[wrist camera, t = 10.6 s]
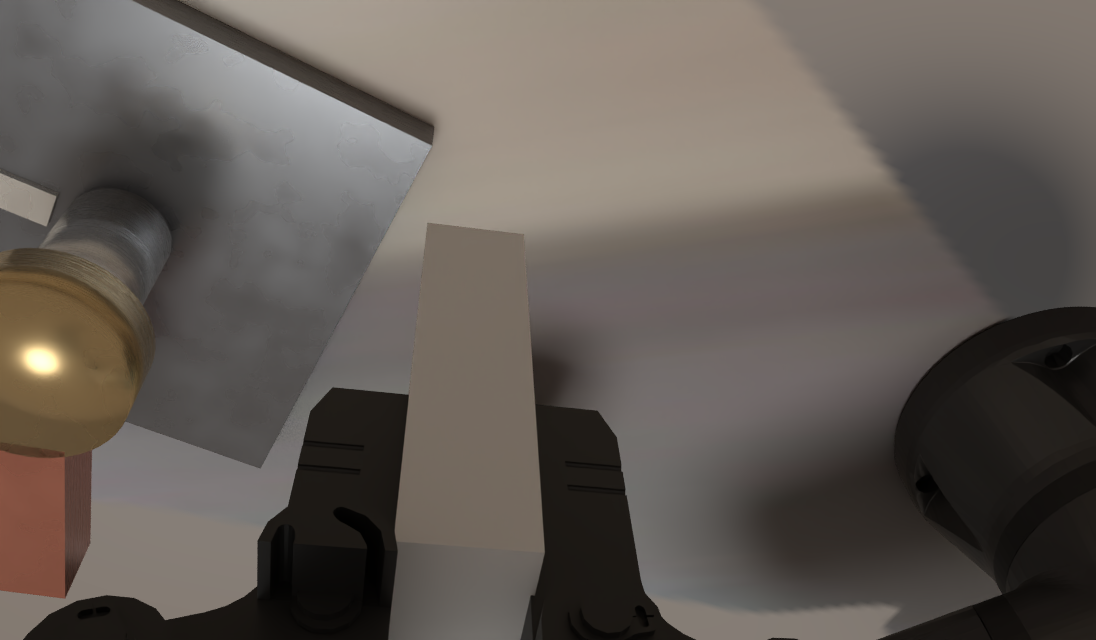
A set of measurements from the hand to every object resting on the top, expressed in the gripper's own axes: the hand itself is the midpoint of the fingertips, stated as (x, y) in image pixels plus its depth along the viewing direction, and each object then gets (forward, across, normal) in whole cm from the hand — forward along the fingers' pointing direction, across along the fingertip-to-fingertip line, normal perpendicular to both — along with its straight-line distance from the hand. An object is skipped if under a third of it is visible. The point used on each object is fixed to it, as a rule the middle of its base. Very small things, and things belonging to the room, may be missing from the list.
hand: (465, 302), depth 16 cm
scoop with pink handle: (+17, -14, -18) cm, 28 cm away
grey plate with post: (+26, -14, -14) cm, 33 cm away
